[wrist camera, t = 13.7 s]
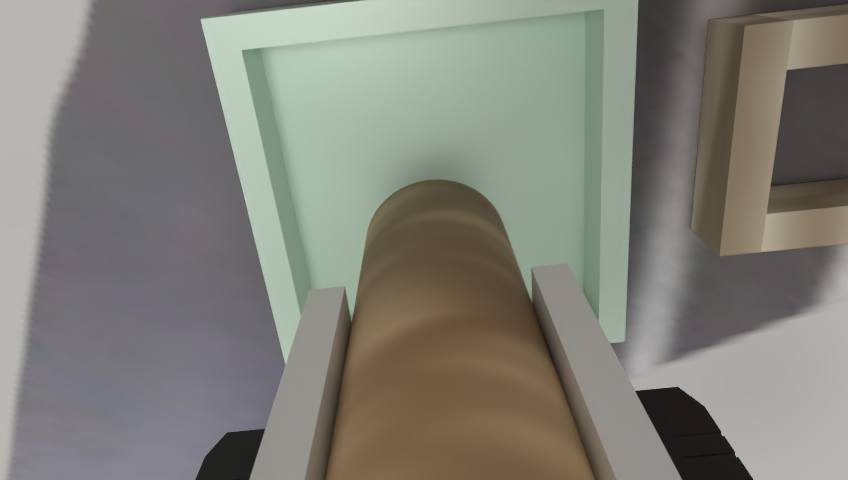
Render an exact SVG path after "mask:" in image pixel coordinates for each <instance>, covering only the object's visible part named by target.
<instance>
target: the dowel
mask: <svg viewBox="0 0 848 480" xmlns="http://www.w3.org/2000/svg"><path fill="white" fill-rule="evenodd" d="M325 480H596V479H595V476H594V473H593V471H592V468H591V465H590V462H589V460H588V457H587V454H586V451H585V448H584V446H583V443H582V440H581V437H580V435H579V432H578V429H577V426H576V424H575V421H574V418H573V415H572V412H571V410H570V407H569V404H568V401H567V399H566V396H565V393H564V390H563V388H562V385H561V382H560V379H559V376H558V374H557V371H556V368H555V365H554V363H553V360H552V357H551V354H550V351H549V349H548V346H547V343H546V340H545V338H544V335H543V332H542V329H541V327H540V324H539V321H538V318H537V315H536V313H535V310H534V307H533V304H532V302H531V299H530V296H529V293H528V291H527V288H526V285H525V282H524V279H523V277H522V274H521V271H520V268H519V266H518V263H517V260H516V257H515V255H514V252H513V249H512V246H511V243H510V241H509V238H508V235H507V232H506V230H505V227H504V224H503V222H502V219H501V217H500V215H499V213H498V212H497V210H496V208H495V207H494V206H493V205H492V203H491V202H490V201H489V200H488V199H487V198H486V197H485V196H484V195H482V194H481V193H479V192H478V191H477V190H475V189H473V188H471V187H469V186H467V185H464V184H462V183H459V182H455V181H450V180H440V179H436V180H425V181H419V182H416V183H413V184H410V185H407V186H405V187H403V188H401V189H399V190H398V191H396V192H394V193H393V194H392V195H390V196H389V197H388V198H387V199H386V200H385V201H384V202H383V203H382V204H381V205H380V206H379V208H378V209H377V210H376V212H375V213H374V215H373V217H372V219H371V221H370V224H369V227H368V230H367V235H366V241H365V247H364V253H363V259H362V265H361V271H360V276H359V282H358V288H357V294H356V300H355V306H354V312H353V318H352V324H351V330H350V336H349V341H348V347H347V353H346V359H345V365H344V371H343V377H342V383H341V389H340V395H339V401H338V406H337V412H336V418H335V424H334V430H333V436H332V442H331V448H330V454H329V460H328V466H327V471H326V477H325Z"/></svg>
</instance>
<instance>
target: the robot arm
mask: <svg viewBox="0 0 848 480" xmlns="http://www.w3.org/2000/svg"><path fill="white" fill-rule="evenodd" d="M531 277H532V304H533V307H534V310H535V313H536V315H537V318H538V321H539V324H540V327H541V329H542V332H543V335H544V338H545V340H546V343H547V346H548V349H549V351H550V354H551V357H552V360H553V363H554V365H555V368H556V371H557V374H558V376H559V379H560V382H561V385H562V388H563V390H564V393H565V396H566V399H567V401H568V404H569V407H570V410H571V412H572V415H573V418H574V421H575V424H576V426H577V429H578V432H579V435H580V437H581V440H582V443H583V446H584V448H585V451H586V454H587V457H588V460H589V462H590V465H591V468H592V471H593V473H594V476H595V479H596V480H753V478H752V477H751V475H750V474H749V473H748V471H747V470H746V468H745V467H744V465H743V463H742V462H741V460H740V459H739V458H738V457H737V458H736V456H735V452H734V450H733V449H732V447H731V446H730V444H729V443H728V441H727V440H726V438H725V437H724V436H722V435H721V431H720V429H719V428H718V426H717V425H716V423H715V422H714V420H713V419H712V417H711V416H710V414H709V413H708V411H707V410H706V408H705V407H704V406H703V405H701V404H700V403H699V402H698V401H696V400H695V399H694V398H692V397H691V396H689V395H688V394H686V393H685V392H684V391H683V390H681V389H680V388H679V387H672V388H661V389H651V390H640V391H635V390H634V388H633V386H632V384H631V382H630V381H629V379H628V377H627V375H626V373H625V371H624V369H623V367H622V365H621V364H620V362H619V360H618V358H617V356H616V354H615V352H614V350H613V349H612V347H611V345H610V343H609V341H608V339H607V337H606V335H605V333H604V332H603V330H602V328H601V326H600V324H599V322H598V320H597V318H596V316H595V315H594V313H593V311H592V309H591V307H590V305H589V303H588V301H587V299H586V298H585V296H584V294H583V292H582V290H581V288H580V286H579V284H578V282H577V281H576V279H575V277H574V275H573V273H572V271H571V269H570V267H569V265H568V264H567V263H565V264H556V265H546V266H536V267H531ZM351 324H352V322H351V316H350V311H349V305H348V300H347V294H346V289H345V286H342V287H332V288H323V289H313V290H309V293H308V296H307V299H306V302H305V306H304V309H303V312H302V315H301V318H300V321H299V325H298V328H297V331H296V334H295V337H294V340H293V343H292V347H291V350H290V353H289V356H288V359H287V362H286V366H285V369H284V372H283V375H282V378H281V381H280V384H279V388H278V391H277V394H276V397H275V400H274V403H273V407H272V410H271V413H270V416H269V419H268V422H267V425H266V429H259V430H249V431H239V432H228V433H226V434H225V435H224V436H223V438H222V439H221V440H220V441H219V442H218V443H217V444H216V445H215V446H214V448H213V449H212V450H211V451H210V452H209V453H208V454H207V455H206V456H205V458H204V461H203V463H202V466H201V468H200V470H199V473H198V475H197V477H196V480H325V477H326V471H327V466H328V460H329V454H330V448H331V442H332V436H333V430H334V424H335V418H336V412H337V406H338V401H339V395H340V389H341V383H342V377H343V371H344V365H345V359H346V353H347V347H348V341H349V336H350V330H351Z"/></svg>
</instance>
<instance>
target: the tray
mask: <svg viewBox="0 0 848 480" xmlns="http://www.w3.org/2000/svg"><path fill="white" fill-rule="evenodd" d="M201 23H202V27H203V31H204V35H205V39H206V43H207V47H208V51H209V55H210V59H211V64H212V68H213V72H214V76H215V80H216V84H217V88H218V92H219V96H220V100H221V104H222V108H223V112H224V116H225V121H226V125H227V129H228V133H229V137H230V141H231V145H232V149H233V153H234V157H235V161H236V165H237V169H238V173H239V178H240V182H241V186H242V190H243V194H244V198H245V202H246V206H247V210H248V214H249V218H250V222H251V226H252V230H253V235H254V239H255V243H256V247H257V251H258V255H259V259H260V263H261V267H262V271H263V275H264V279H265V283H266V287H267V292H268V296H269V300H270V304H271V308H272V312H273V316H274V320H275V324H276V328H277V332H278V336H279V340H280V345H281V349H282V353H283V357H284V361H285V365H286V362H287V359H288V356H289V353H290V350H291V347H292V343H293V340H294V337H295V334H296V331H297V328H298V325H299V321H300V318H301V315H302V312H303V309H304V306H305V302H306V299H307V296H308V293H309V290H313V289H323V288H332V287H342V286H345V289H346V294H347V300H348V305H349V311H350V316H351V322H352V318H353V312H354V306H355V300H356V294H357V288H358V282H359V276H360V271H361V265H362V259H363V253H364V247H365V241H366V235H367V230H368V227H369V224H370V221H371V219H372V217H373V215H374V213H375V212H376V210H377V209H378V208H379V206H380V205H381V204H382V203H383V202H384V201H385V200H386V199H387V198H388V197H389V196H390V195H392V194H393V193H394V192H396V191H398V190H399V189H401V188H403V187H405V186H407V185H410V184H413V183H416V182H419V181H425V180H436V179H440V180H450V181H455V182H459V183H462V184H464V185H467V186H469V187H471V188H473V189H475V190H477V191H478V192H479V193H481V194H482V195H484V196H485V197H486V198H487V199H488V200H489V201H490V202H491V203H492V205H493V206H494V207H495V208H496V210H497V212H498V213H499V215H500V217H501V219H502V222H503V224H504V227H505V230H506V232H507V235H508V238H509V241H510V243H511V246H512V249H513V252H514V255H515V257H516V260H517V263H518V266H519V268H520V271H521V274H522V277H523V279H524V282H525V285H526V288H527V291H528V293H529V296H530V299H531V302H532V277H531V267H536V266H546V265H556V264H565V263H567V264H568V265H569V267H570V269H571V271H572V273H573V275H574V277H575V279H576V281H577V282H578V284H579V286H580V288H581V290H582V292H583V294H584V296H585V298H586V299H587V301H588V303H589V305H590V307H591V309H592V311H593V313H594V315H595V316H596V318H597V320H598V322H599V324H600V326H601V328H602V330H603V332H604V333H605V335H606V337H607V339H608V341H609V343H617V342H625V328H626V303H627V277H628V252H629V226H630V201H631V175H632V150H633V124H634V99H635V74H636V48H637V23H638V0H332V1H324V2H315V3H306V4H298V5H289V6H281V7H272V8H263V9H255V10H246V11H237V12H229V13H225V14H220V15H216V16H212V17H208V18H204V19H201Z"/></svg>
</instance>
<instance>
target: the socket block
mask: <svg viewBox="0 0 848 480" xmlns="http://www.w3.org/2000/svg"><path fill="white" fill-rule="evenodd" d="M846 63H848V4H843V5H834V6H825V7H816V8H807V9H798V10H790V11H781V12H772V13H763V14H754V15H745V16H736V17H727V18H718V19H709V25H708V36H707V48H706V60H705V71H704V83H703V95H702V106H701V118H700V130H699V141H698V153H697V165H696V176H695V188H694V200H693V211H692V223H691V230H692V231H694V232H695V233H696V234H697V235H698V236H699V237H700V238H701V239H702V240H703V241H704V242H705V243H706V244H707V245H708V246H709V247H710V248H711V249H712V250H714V251H715V252H716V253H717V254H718V255H719V256H727V255H737V254H747V253H757V252H767V251H777V250H787V249H797V248H808V247H818V246H828V245H838V244H848V178H847V179H838V180H828V181H818V182H809V183H799V184H789V185H779V186H771V179H772V172H773V165H774V158H775V151H776V144H777V136H778V129H779V122H780V115H781V108H782V101H783V94H784V87H785V80H786V73H787V70H790V69H800V68H809V67H818V66H827V65H836V64H846Z"/></svg>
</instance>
